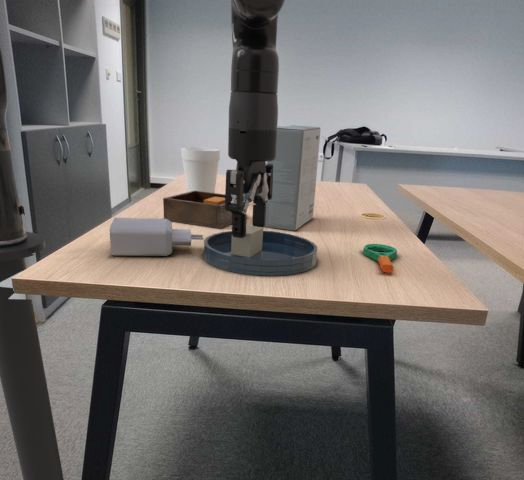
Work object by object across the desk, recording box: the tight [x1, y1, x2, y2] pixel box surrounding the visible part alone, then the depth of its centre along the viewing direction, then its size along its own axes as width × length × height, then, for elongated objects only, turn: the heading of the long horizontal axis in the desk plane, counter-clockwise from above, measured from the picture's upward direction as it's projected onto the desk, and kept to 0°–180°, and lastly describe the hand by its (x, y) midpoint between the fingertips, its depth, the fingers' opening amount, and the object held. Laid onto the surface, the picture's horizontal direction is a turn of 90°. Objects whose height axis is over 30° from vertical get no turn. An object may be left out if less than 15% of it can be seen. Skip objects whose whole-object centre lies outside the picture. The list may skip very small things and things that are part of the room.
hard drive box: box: [263, 124, 321, 232], centre depth 103 cm, size 16×8×20 cm, turn 161°
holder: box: [162, 191, 244, 229], centre depth 105 cm, size 14×14×5 cm
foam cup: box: [180, 146, 221, 193], centre depth 120 cm, size 10×9×13 cm
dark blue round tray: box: [203, 230, 318, 277], centre depth 81 cm, size 19×19×2 cm
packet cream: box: [231, 224, 264, 257], centre depth 81 cm, size 4×6×4 cm, turn 158°
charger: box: [109, 217, 204, 257], centre depth 81 cm, size 5×9×15 cm
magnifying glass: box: [362, 243, 398, 273], centre depth 83 cm, size 15×6×2 cm, turn 173°
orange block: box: [204, 197, 225, 205], centre depth 104 cm, size 4×6×4 cm, turn 158°
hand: (249, 231), depth 80 cm, fingers open, 8 cm apart
